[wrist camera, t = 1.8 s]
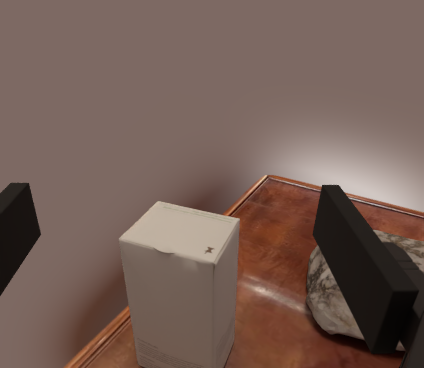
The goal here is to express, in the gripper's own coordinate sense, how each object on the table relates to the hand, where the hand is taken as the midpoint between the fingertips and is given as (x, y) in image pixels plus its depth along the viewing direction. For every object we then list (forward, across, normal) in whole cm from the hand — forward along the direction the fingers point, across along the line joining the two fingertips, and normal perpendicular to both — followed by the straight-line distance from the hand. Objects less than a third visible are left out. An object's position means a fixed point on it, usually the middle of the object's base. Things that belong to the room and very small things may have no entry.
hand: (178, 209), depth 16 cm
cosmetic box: (+10, 0, -23) cm, 25 cm away
